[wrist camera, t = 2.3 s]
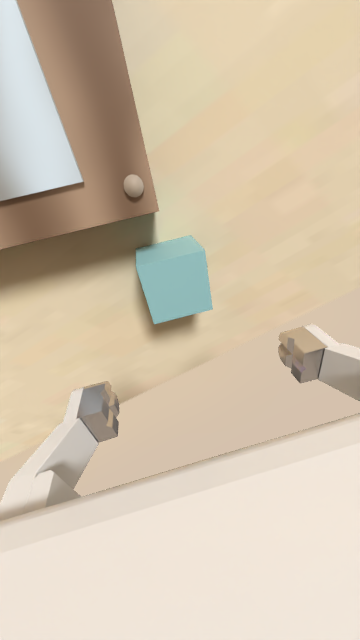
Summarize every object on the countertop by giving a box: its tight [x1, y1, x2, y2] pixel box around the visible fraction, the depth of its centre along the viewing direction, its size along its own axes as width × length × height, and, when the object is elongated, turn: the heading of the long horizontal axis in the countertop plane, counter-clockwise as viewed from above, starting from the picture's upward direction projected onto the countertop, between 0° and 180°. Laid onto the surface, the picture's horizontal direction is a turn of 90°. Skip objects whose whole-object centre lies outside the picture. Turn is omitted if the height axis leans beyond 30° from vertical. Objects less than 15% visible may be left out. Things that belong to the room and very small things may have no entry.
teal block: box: [136, 235, 213, 324], centre depth 19 cm, size 5×5×5 cm
